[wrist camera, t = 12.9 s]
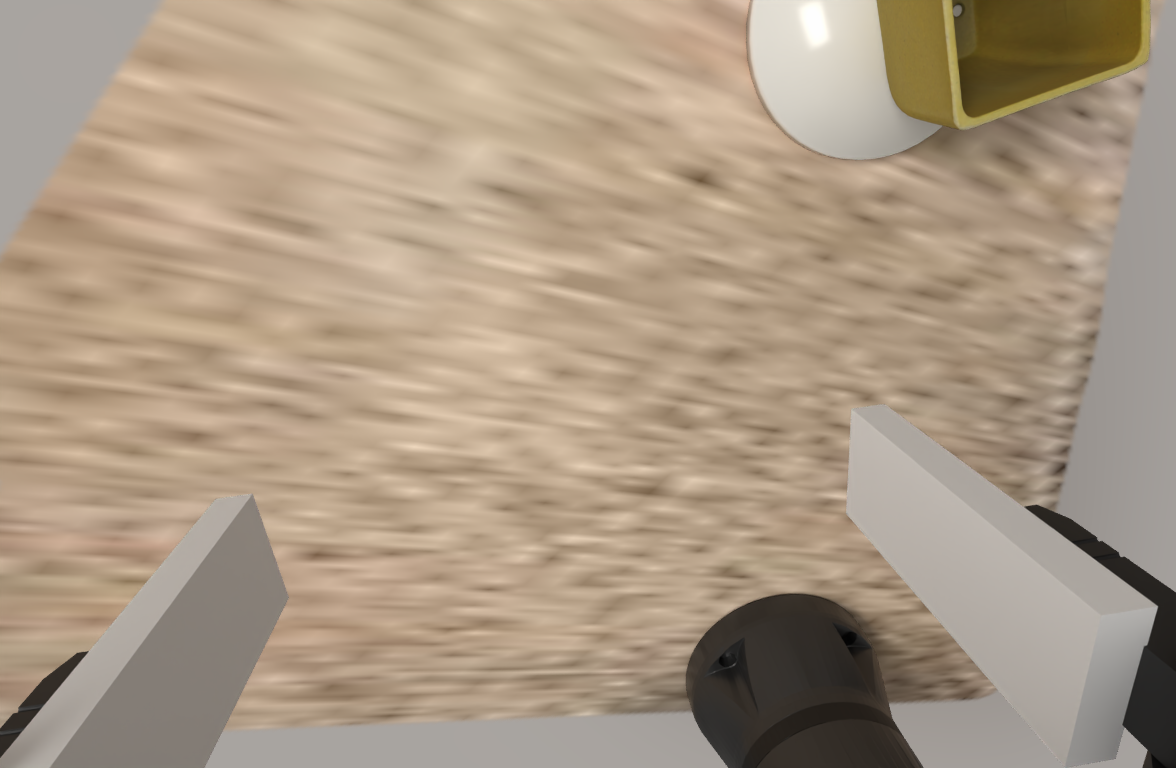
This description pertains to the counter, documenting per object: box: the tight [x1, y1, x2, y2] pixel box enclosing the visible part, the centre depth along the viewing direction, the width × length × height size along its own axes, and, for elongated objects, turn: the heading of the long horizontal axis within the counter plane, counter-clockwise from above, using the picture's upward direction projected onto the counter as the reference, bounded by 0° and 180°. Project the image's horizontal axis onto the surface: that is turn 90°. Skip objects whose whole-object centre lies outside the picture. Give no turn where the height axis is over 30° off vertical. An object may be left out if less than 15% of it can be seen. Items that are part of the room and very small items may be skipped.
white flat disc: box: [746, 0, 962, 160], centre depth 35 cm, size 14×14×1 cm
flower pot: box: [876, 0, 1151, 130], centre depth 31 cm, size 9×9×9 cm
